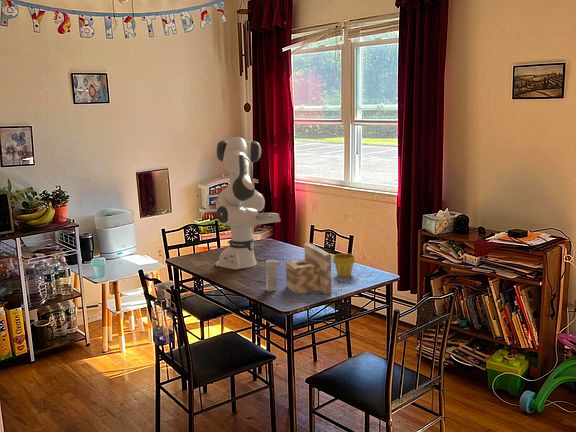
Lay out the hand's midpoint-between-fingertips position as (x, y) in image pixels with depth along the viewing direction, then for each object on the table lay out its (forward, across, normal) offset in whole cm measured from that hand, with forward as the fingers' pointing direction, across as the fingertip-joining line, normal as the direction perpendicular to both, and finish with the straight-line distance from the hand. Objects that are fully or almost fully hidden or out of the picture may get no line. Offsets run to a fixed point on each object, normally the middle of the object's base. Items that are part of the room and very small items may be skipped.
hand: (272, 220), depth 263 cm
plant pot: (+44, -7, +24) cm, 50 cm away
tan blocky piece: (+18, -5, +30) cm, 35 cm away
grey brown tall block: (+5, +6, +31) cm, 32 cm away
